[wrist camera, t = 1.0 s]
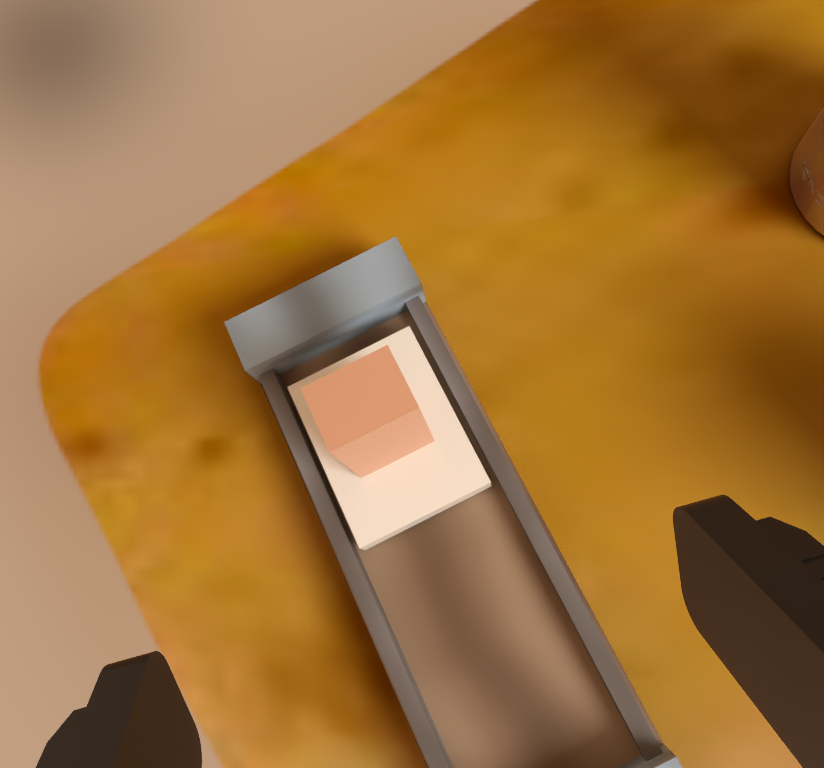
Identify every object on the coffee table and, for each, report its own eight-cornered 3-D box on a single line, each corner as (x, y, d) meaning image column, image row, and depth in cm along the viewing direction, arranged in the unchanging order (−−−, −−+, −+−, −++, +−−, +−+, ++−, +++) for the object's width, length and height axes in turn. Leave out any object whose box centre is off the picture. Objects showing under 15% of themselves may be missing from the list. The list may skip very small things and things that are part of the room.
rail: (405, 268, 41) (395, 236, 37) (692, 803, 32) (717, 832, 29) (250, 346, 41) (224, 322, 37) (494, 905, 32) (492, 948, 28)
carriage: (412, 335, 38) (389, 269, 30) (491, 486, 36) (487, 457, 28) (295, 394, 38) (240, 343, 30) (365, 550, 36) (325, 539, 28)
